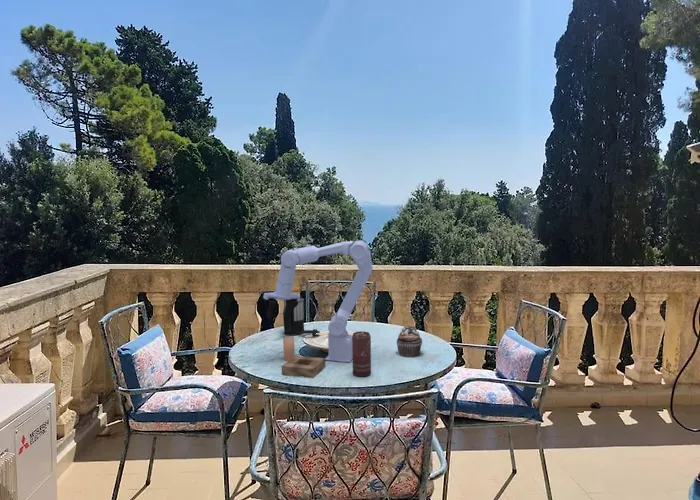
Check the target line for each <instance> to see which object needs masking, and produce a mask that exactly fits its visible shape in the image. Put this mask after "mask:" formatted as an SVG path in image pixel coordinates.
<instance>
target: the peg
mask: <svg viewBox="0 0 700 500" xmlns="http://www.w3.org/2000/svg"><path fill="white" fill-rule="evenodd" d="M282 342H283V361H285V362H288V361H289V360H290V359H292V358H293V357H294V356H296V354H295V337H294V336H285V337H282Z"/></svg>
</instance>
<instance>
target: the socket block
mask: <svg viewBox="0 0 700 500" xmlns="http://www.w3.org/2000/svg"><path fill="white" fill-rule="evenodd" d="M325 358H326V357H325ZM325 358H324V357H313V356H303V355H301V356H300V355H295V356H294V357H293V358H292V359H290V360H289V361H285V363H283V364H282V365H281V375H282V374H283V375H282V376H290V375H293V376H292V377H300V376H304V377H303V378H310V377H312V378H311V379H314V378H315V377H316V376H318V375H319V373H320V372H321V371H323V370H324V369H325V368H326V360H325Z"/></svg>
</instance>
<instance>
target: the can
mask: <svg viewBox="0 0 700 500" xmlns="http://www.w3.org/2000/svg"><path fill="white" fill-rule="evenodd" d="M371 337H372V336H371V334H370V333H369V332H368V331H363V330H362V331H355V332H353V333H352V355H353V359H352V374H353V375H354V376H355V377H357V378H366V377H369V376H370V375H371V374H372V346H371V345H372V338H371Z"/></svg>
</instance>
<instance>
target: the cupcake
mask: <svg viewBox="0 0 700 500" xmlns="http://www.w3.org/2000/svg"><path fill="white" fill-rule="evenodd" d="M419 332H420V331H419V330H417V328H416V327H415V326H408V327H407V326H403V327H401V331H400V333H399V334H398V338H397V339H396V345H397V346H396V347H397V352H398V354H399V356H401V357H406V358H411V357H412V358H415V357H419V356H420V355H421V348H422V344H423V338H422V337H421V335H420V333H419Z"/></svg>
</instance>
